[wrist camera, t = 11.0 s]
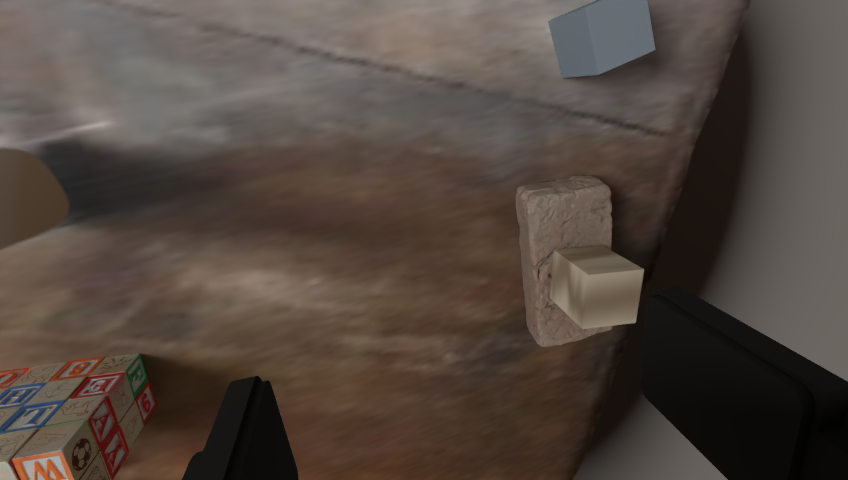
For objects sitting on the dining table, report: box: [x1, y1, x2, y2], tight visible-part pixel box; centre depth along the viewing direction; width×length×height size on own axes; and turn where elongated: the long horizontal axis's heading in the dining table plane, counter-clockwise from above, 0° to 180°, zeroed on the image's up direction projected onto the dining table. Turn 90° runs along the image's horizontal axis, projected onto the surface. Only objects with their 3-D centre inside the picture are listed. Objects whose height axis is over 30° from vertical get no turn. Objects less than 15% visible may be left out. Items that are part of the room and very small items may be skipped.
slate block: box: [548, 0, 655, 78], centre depth 35 cm, size 5×5×6 cm
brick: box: [516, 175, 612, 347], centre depth 43 cm, size 17×8×5 cm, turn 9°
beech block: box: [550, 246, 644, 329], centre depth 38 cm, size 5×5×6 cm
